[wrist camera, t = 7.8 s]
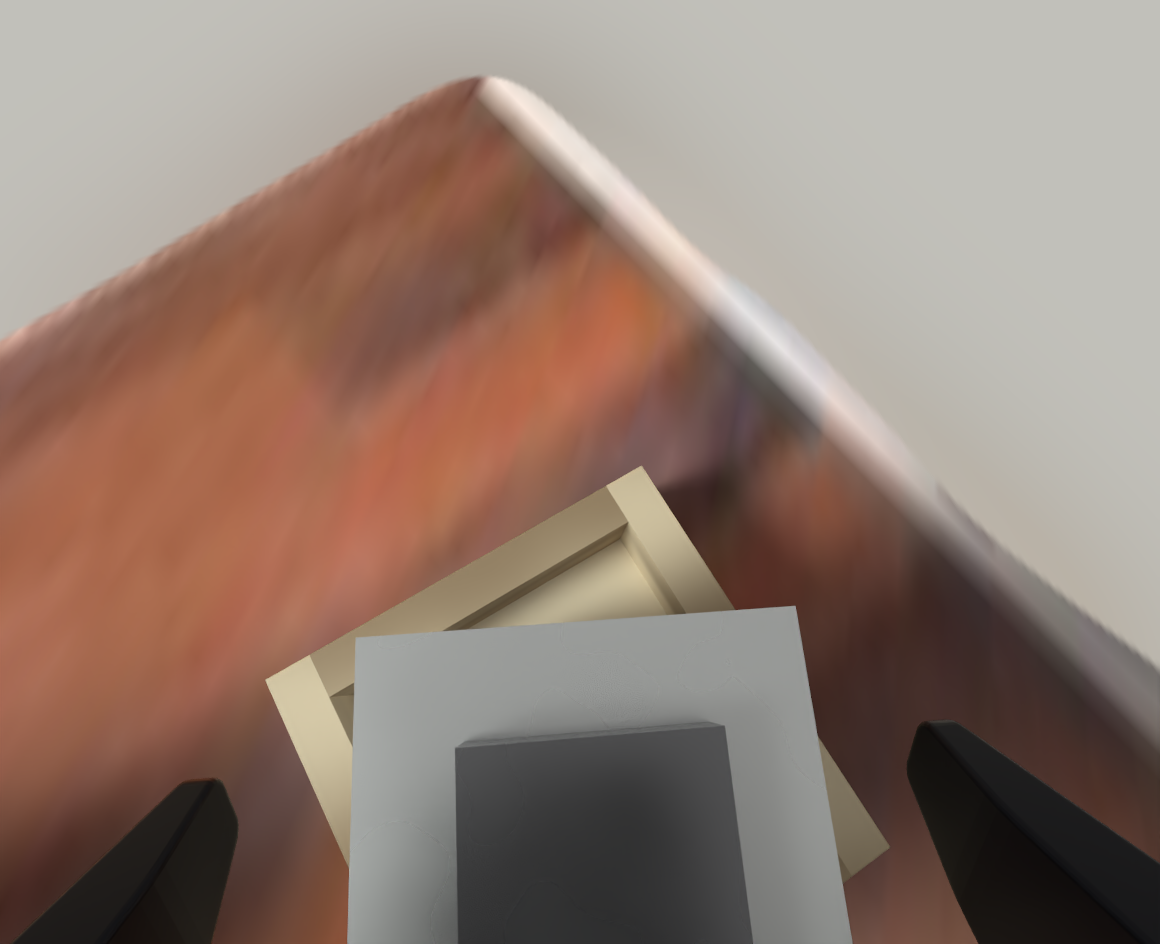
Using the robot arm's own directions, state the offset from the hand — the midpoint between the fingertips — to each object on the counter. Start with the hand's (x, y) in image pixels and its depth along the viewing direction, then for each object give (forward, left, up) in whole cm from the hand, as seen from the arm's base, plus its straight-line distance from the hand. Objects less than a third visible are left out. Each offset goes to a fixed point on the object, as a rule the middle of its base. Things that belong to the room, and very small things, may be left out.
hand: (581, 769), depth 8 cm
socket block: (-1, 0, -8) cm, 8 cm away
